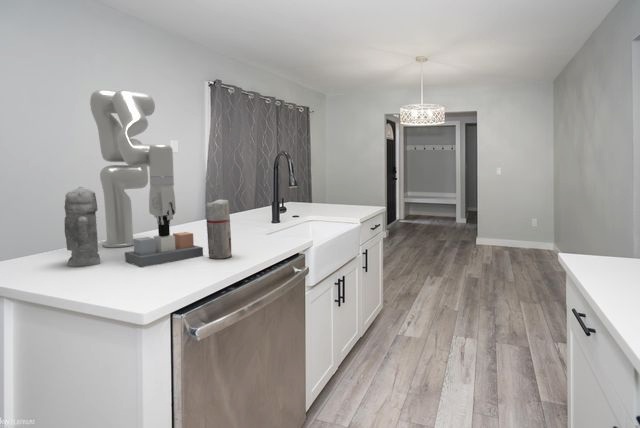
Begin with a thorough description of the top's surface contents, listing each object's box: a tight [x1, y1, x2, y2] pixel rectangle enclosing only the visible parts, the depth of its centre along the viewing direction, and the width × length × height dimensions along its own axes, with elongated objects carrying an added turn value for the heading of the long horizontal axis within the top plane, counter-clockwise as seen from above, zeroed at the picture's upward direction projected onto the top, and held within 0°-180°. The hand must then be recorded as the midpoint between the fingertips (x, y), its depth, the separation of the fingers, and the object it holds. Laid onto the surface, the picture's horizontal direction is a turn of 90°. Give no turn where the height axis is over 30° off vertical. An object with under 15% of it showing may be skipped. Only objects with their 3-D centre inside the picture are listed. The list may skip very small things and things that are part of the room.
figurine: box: [63, 186, 101, 267], centre depth 137 cm, size 10×14×25 cm
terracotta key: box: [172, 231, 194, 249], centre depth 149 cm, size 5×5×6 cm
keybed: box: [124, 244, 204, 268], centre depth 145 cm, size 12×22×3 cm, turn 138°
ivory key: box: [153, 234, 175, 252], centre depth 144 cm, size 5×5×6 cm
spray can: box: [205, 199, 233, 260], centre depth 146 cm, size 8×8×20 cm
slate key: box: [133, 236, 156, 256], centre depth 139 cm, size 5×5×6 cm
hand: (164, 235), depth 144 cm, fingers closed
